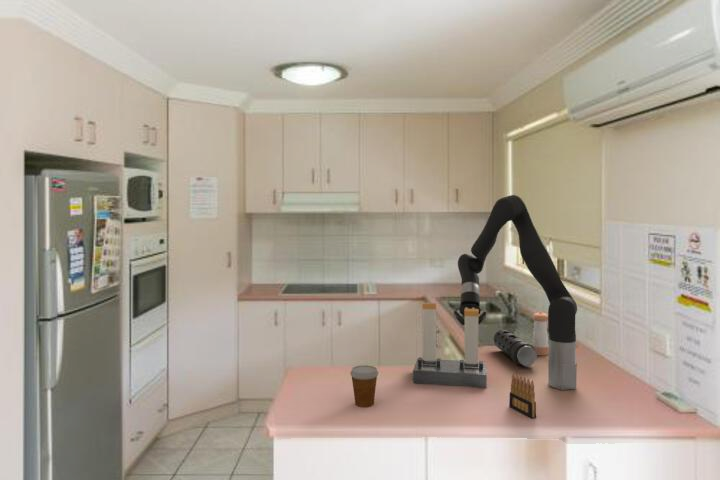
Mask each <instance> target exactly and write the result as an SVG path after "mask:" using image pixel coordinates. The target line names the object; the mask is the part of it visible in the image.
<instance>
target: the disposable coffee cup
mask: <svg viewBox="0 0 720 480" xmlns="http://www.w3.org/2000/svg"><path fill="white" fill-rule="evenodd" d="M378 375H379V371H378V368H377V367H376V366H375V365H374V366H373V365H367V364H362V365H361V364H360V365H356V366H353V367H351V371H350V376H351V381H352V388H353V389H352V390H353V397H354V404H355V406H356V407H360V408H369V407H372V406H374V404H375V396H376V387H377V381H378V380H377V379H378Z"/></svg>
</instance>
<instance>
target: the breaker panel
mask: <svg viewBox="0 0 720 480" xmlns="http://www.w3.org/2000/svg"><path fill="white" fill-rule="evenodd" d="M422 360H423V357H421V356H420V357H418V358H417V359H416V361H415V363H414V367H413V369H412V384H418V385H429V386H430V385H433V386H447V387H463V388H477V389H487V385H488V384H487V362H486V361H483V360H478V367H464V362H465V359H459V360H458V359H457V360H456V359H454V360H453V359H441V358H439V357H438V358H437V357H436V360H435V361H436V365H430V364H422Z"/></svg>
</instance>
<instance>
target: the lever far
mask: <svg viewBox="0 0 720 480" xmlns="http://www.w3.org/2000/svg"><path fill="white" fill-rule="evenodd" d="M422 358H423V360H422V364H430V365H436V361H435V360H436V359H437V303H436V302H422Z"/></svg>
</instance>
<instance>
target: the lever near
mask: <svg viewBox="0 0 720 480" xmlns="http://www.w3.org/2000/svg"><path fill="white" fill-rule="evenodd" d="M464 316H465V318H464V320H465V325H464V361H465V362H464V367H478V362H479V325H478V317H479V316H480V314H479V309H464Z"/></svg>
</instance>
